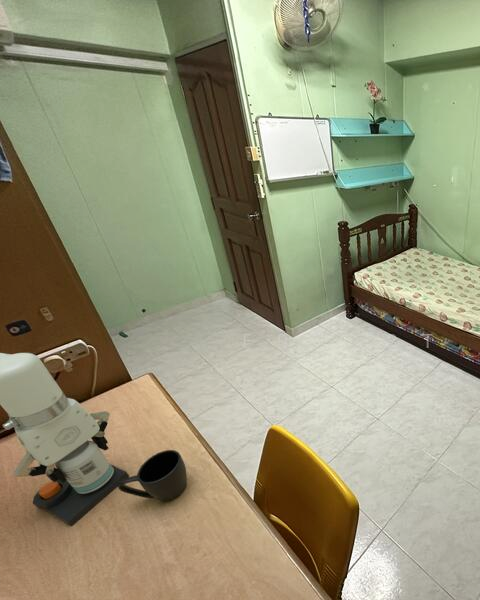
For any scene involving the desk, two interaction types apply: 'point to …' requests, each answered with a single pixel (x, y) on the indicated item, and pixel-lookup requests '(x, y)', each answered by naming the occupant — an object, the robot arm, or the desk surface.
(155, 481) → the mug
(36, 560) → the desk surface
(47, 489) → the button
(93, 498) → the scale
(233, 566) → the desk surface
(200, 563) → the desk surface
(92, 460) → the white supplement bottle
